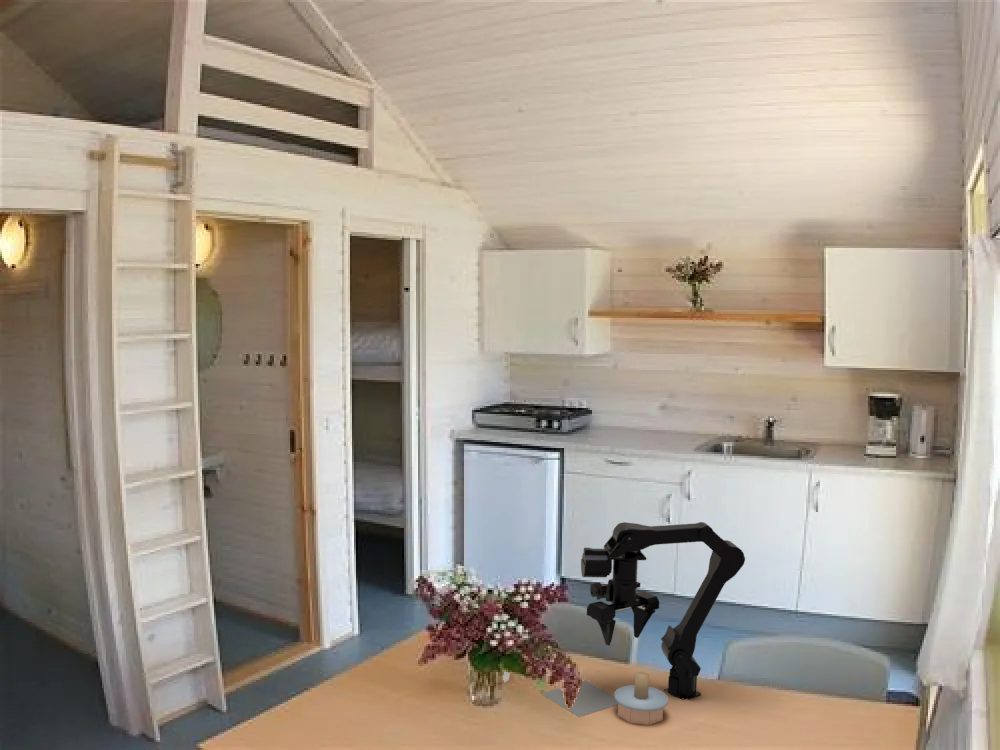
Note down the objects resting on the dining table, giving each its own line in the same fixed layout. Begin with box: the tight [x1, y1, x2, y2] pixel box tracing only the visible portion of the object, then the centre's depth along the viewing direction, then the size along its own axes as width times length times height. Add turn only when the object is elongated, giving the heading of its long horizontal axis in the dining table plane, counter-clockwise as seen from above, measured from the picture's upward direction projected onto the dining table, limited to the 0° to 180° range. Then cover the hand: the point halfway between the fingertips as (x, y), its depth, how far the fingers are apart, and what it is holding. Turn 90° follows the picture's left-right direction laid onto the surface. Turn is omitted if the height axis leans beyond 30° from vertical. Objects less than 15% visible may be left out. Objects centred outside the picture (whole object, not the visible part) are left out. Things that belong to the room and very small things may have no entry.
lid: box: [613, 671, 669, 711], centre depth 200 cm, size 12×12×6 cm
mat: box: [540, 680, 618, 718], centre depth 207 cm, size 14×14×1 cm
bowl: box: [617, 703, 664, 726], centre depth 200 cm, size 10×10×4 cm
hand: (622, 641), depth 210 cm, fingers open, 9 cm apart
